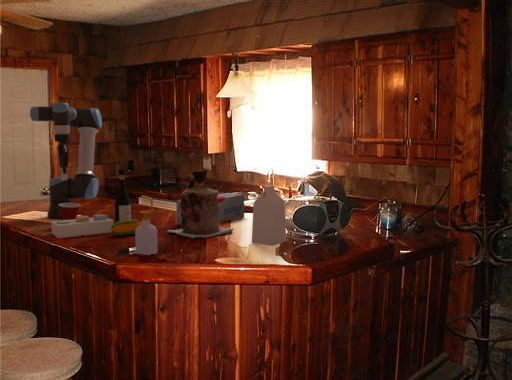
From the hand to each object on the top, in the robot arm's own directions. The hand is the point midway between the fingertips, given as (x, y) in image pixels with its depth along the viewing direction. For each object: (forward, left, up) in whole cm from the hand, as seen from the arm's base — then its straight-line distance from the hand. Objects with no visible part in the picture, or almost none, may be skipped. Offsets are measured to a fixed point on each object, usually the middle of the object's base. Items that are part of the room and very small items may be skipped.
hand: (64, 179), depth 289 cm
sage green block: (+16, -5, -23) cm, 29 cm away
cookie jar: (+47, +54, -26) cm, 75 cm away
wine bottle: (+9, +27, -25) cm, 38 cm away
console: (+16, +4, -25) cm, 30 cm away
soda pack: (+21, +74, -26) cm, 81 cm away
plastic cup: (-4, +3, -25) cm, 26 cm away
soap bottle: (+73, +15, -25) cm, 79 cm away
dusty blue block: (+16, +13, -22) cm, 30 cm away
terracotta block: (+16, +4, -22) cm, 28 cm away
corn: (+31, +23, -26) cm, 46 cm away
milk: (+82, +71, -25) cm, 111 cm away
